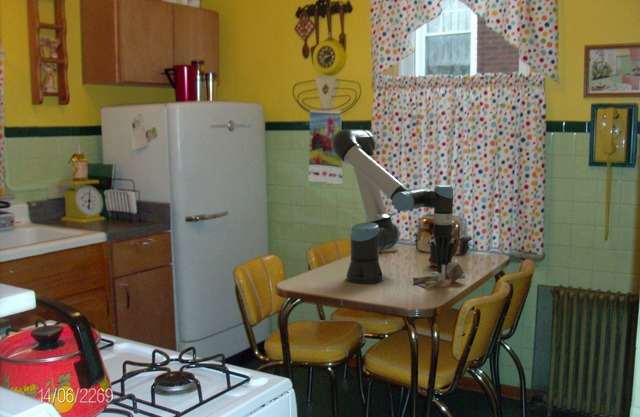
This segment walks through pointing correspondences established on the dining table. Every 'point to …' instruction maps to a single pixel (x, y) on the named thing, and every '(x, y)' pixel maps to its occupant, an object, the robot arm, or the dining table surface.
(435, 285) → the channel
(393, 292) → the dining table surface
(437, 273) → the plate
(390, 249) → the candle holder
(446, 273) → the block
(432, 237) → the mug
